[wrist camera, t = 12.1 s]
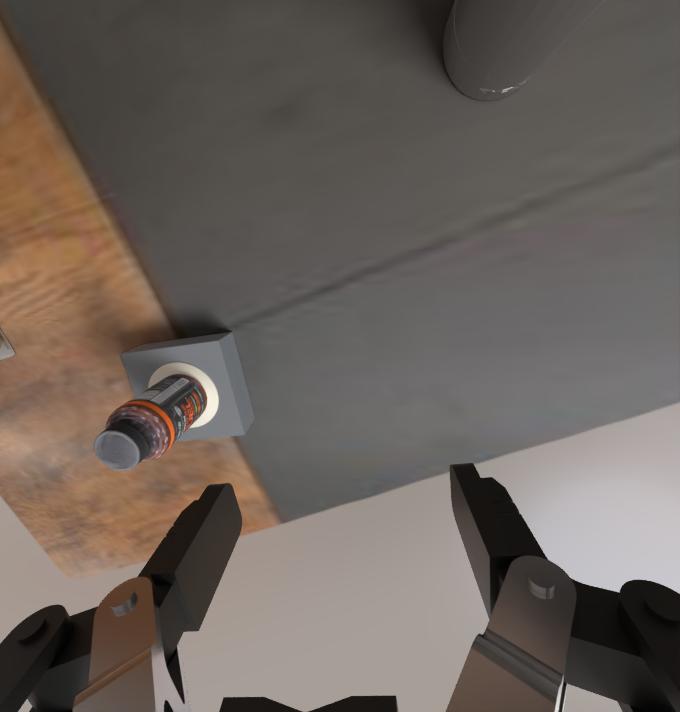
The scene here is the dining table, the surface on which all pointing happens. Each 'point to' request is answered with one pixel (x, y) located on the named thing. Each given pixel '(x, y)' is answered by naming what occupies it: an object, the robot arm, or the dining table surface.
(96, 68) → the dining table surface
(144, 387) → the base block
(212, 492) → the robot arm
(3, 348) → the coffee box
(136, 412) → the supplement bottle
